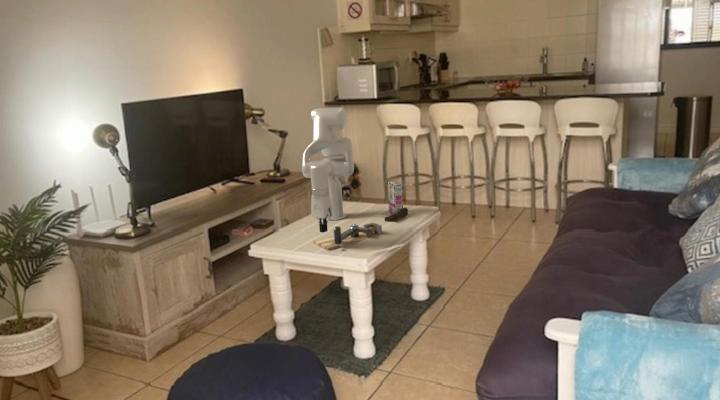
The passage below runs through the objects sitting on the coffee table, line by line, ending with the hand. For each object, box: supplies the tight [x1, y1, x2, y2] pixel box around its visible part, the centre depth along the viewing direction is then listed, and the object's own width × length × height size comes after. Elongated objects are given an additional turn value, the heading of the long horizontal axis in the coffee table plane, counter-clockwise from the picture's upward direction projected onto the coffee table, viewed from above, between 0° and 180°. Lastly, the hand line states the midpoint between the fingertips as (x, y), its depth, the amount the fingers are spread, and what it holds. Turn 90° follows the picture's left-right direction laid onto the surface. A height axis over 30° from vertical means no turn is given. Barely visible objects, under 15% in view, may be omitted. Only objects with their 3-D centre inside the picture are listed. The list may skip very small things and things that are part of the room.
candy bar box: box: [387, 181, 404, 215], centre depth 309 cm, size 11×5×16 cm, turn 14°
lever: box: [333, 223, 372, 244], centre depth 263 cm, size 10×20×8 cm, turn 154°
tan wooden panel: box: [313, 222, 384, 251], centre depth 270 cm, size 13×30×5 cm, turn 122°
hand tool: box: [384, 207, 409, 223], centre depth 300 cm, size 19×4×5 cm, turn 141°
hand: (323, 231), depth 265 cm, fingers closed
